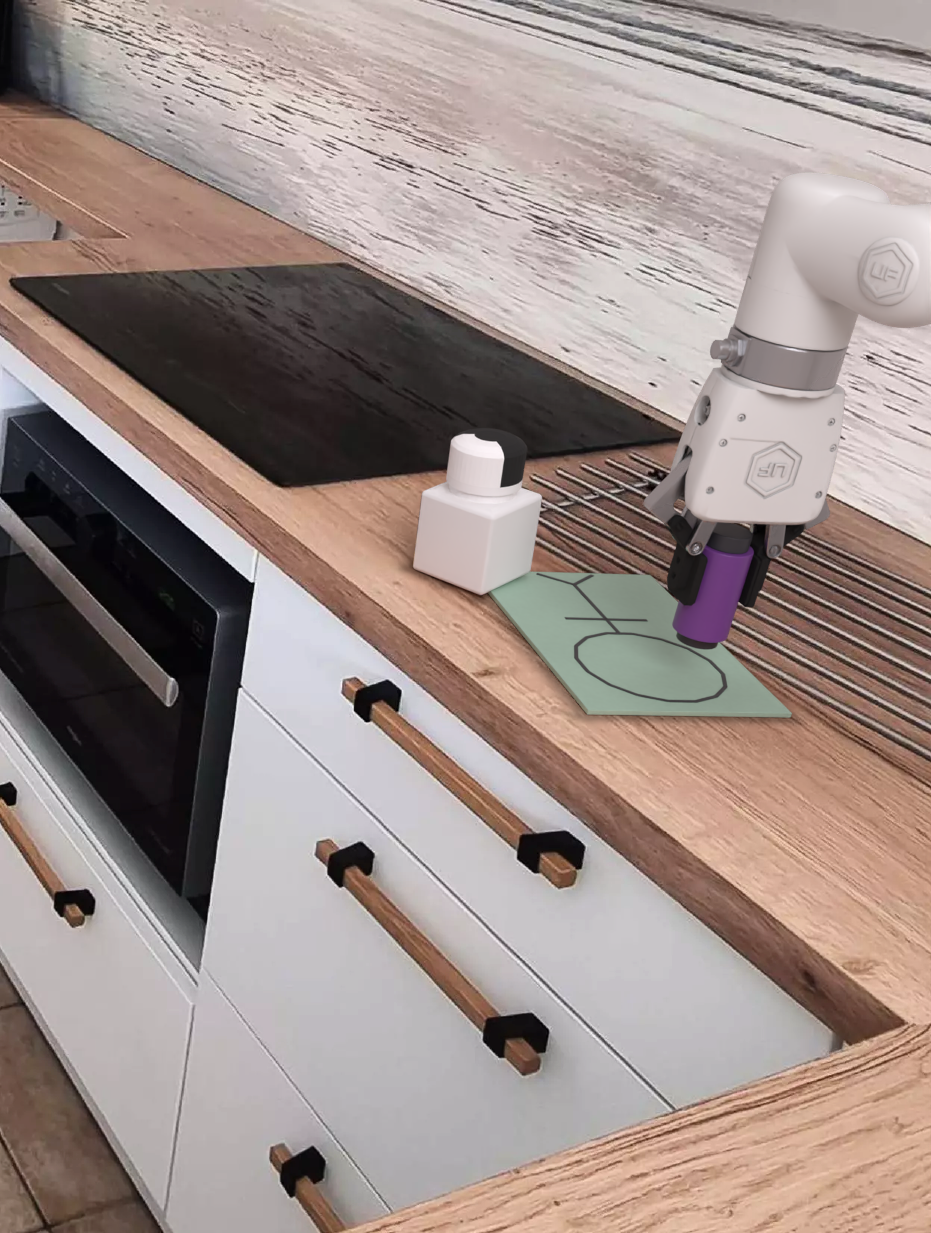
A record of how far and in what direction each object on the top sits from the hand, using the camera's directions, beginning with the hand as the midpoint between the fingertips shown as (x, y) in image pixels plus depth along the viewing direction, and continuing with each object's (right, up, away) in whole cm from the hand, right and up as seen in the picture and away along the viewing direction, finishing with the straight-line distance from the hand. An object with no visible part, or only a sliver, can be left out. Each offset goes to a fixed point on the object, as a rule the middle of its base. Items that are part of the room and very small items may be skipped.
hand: (710, 596), depth 130 cm
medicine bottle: (-13, +3, +18) cm, 22 cm away
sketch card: (-4, -3, +9) cm, 10 cm away
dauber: (0, -3, +2) cm, 4 cm away
